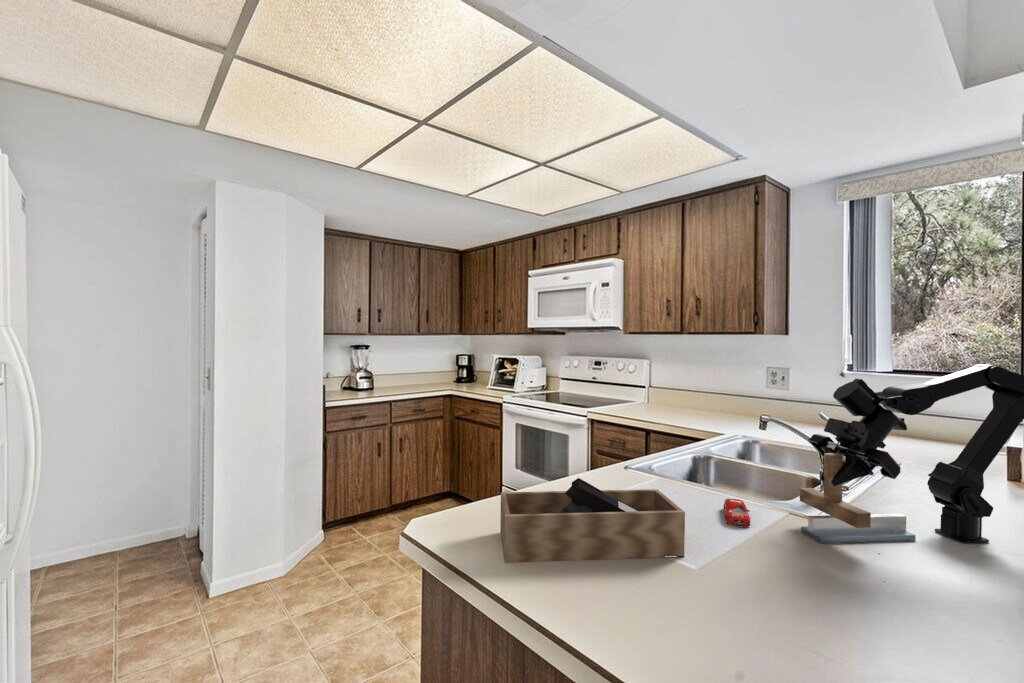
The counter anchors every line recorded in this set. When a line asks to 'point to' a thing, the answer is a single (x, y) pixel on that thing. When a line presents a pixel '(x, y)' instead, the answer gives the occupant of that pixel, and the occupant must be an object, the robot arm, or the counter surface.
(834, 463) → the wooden t-shaped stand
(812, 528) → the ridge stand
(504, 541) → the box
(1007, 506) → the counter surface
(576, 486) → the toy gun
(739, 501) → the race car
